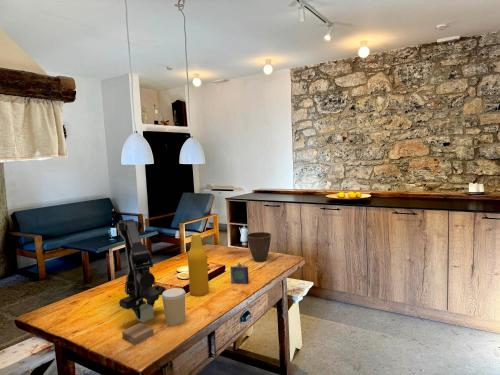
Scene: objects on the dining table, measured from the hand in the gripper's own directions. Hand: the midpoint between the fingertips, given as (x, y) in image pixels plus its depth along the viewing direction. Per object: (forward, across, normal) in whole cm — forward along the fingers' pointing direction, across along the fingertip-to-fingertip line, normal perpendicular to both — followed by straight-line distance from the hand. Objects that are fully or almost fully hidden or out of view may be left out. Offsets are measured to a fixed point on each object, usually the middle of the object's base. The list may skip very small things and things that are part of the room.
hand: (144, 316), depth 143 cm
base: (+1, -10, -10) cm, 14 cm away
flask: (+1, +51, -9) cm, 52 cm away
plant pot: (+1, +86, +4) cm, 86 cm away
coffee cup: (+1, +6, -12) cm, 14 cm away
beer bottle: (+1, +31, 0) cm, 31 cm away
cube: (+1, 0, 0) cm, 1 cm away
